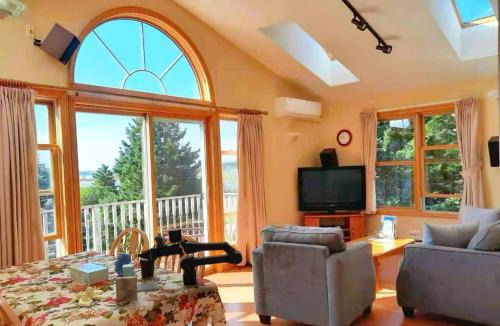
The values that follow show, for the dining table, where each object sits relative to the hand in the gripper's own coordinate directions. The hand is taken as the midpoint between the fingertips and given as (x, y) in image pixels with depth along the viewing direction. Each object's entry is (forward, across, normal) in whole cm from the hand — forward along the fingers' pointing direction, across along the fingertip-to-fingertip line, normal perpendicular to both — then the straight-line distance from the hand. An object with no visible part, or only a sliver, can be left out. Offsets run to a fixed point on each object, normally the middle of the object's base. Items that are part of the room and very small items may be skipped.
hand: (139, 254), depth 200 cm
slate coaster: (-3, +2, +17) cm, 17 cm away
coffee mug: (+1, -19, +15) cm, 24 cm away
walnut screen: (+4, +18, +17) cm, 25 cm away
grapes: (+17, -24, +13) cm, 32 cm away
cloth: (+23, +16, +16) cm, 32 cm away
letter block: (+6, +4, +16) cm, 18 cm away
